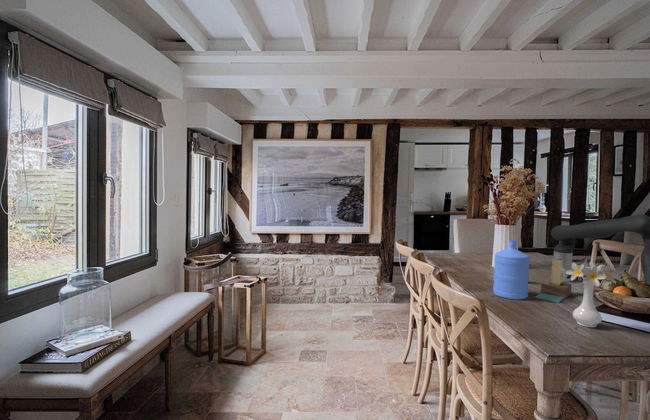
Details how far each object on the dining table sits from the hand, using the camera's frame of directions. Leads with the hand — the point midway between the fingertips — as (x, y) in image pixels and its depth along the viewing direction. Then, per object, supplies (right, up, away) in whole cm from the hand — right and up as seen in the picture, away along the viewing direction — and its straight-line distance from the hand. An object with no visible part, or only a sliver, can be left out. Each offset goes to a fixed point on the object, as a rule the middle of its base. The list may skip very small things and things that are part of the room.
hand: (567, 274), depth 176 cm
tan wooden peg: (-3, -11, +4) cm, 12 cm away
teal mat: (-12, -11, -4) cm, 17 cm away
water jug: (-30, -11, -1) cm, 32 cm away
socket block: (-3, -11, +4) cm, 12 cm away
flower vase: (-21, -13, -39) cm, 46 cm away
